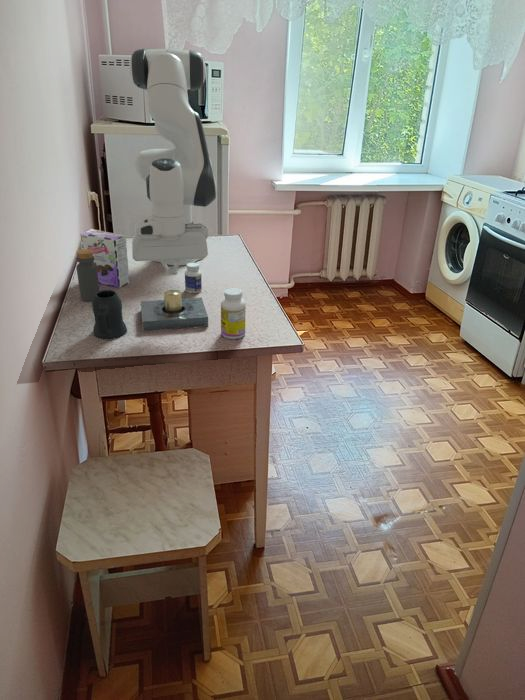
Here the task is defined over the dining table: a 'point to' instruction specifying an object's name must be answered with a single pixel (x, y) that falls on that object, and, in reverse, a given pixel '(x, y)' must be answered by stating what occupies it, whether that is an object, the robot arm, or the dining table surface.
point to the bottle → (87, 275)
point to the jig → (173, 315)
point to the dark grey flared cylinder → (108, 315)
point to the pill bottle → (193, 278)
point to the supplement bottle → (233, 314)
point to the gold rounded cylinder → (173, 301)
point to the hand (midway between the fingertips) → (171, 274)
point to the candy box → (108, 256)
